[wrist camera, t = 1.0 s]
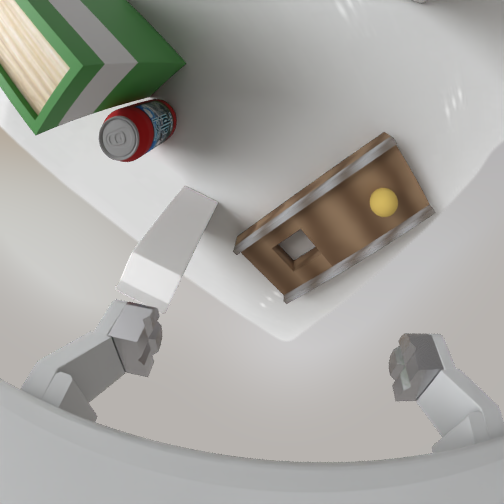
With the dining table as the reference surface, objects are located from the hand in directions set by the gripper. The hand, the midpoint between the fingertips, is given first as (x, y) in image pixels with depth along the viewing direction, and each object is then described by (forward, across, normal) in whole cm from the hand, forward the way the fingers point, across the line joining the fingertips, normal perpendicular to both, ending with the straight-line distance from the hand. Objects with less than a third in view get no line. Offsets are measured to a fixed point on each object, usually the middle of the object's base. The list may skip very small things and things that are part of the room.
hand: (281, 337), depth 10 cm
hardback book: (+36, +23, -13) cm, 45 cm away
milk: (+37, +13, +14) cm, 41 cm away
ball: (+31, -14, +7) cm, 35 cm away
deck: (+36, -8, +12) cm, 39 cm away
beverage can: (+37, +19, 0) cm, 41 cm away
